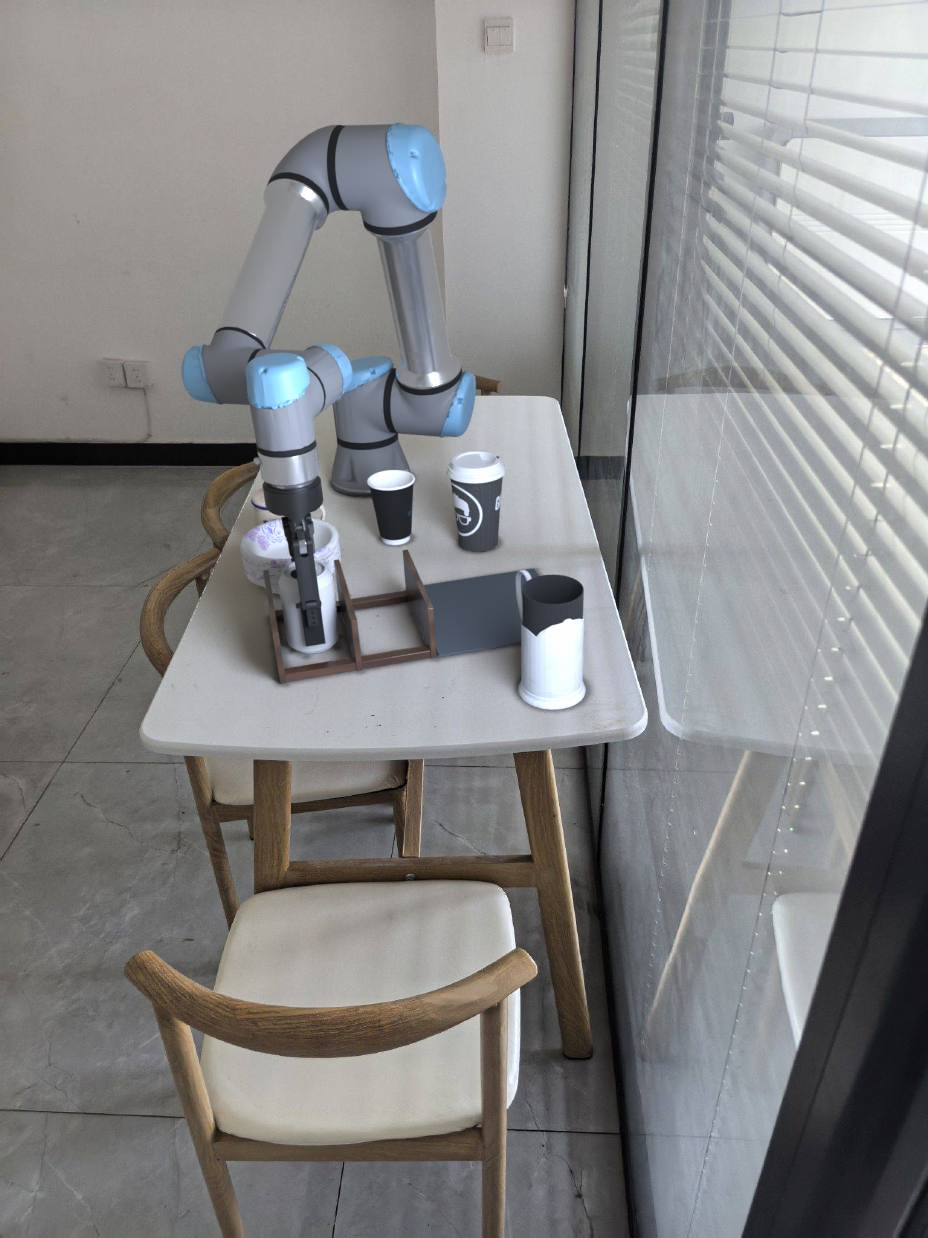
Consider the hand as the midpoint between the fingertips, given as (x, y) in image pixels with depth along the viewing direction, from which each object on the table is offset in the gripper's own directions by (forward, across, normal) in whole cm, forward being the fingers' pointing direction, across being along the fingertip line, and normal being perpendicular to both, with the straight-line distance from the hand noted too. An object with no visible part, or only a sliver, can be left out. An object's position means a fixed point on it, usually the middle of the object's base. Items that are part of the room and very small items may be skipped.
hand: (312, 628), depth 136 cm
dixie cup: (+3, -29, +17) cm, 34 cm away
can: (+3, 0, 0) cm, 3 cm away
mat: (+2, -1, +26) cm, 26 cm away
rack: (+2, 0, +5) cm, 6 cm away
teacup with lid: (+3, -33, 0) cm, 33 cm away
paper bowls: (+3, -19, -1) cm, 19 cm away
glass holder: (+3, +18, +28) cm, 34 cm away
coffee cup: (+3, -23, +30) cm, 38 cm away
